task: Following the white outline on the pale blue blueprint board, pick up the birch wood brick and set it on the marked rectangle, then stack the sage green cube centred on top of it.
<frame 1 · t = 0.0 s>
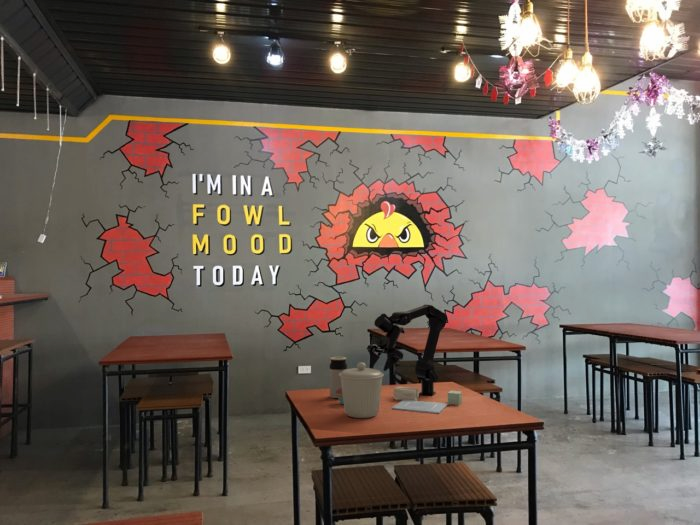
hand: (377, 369, 241), 15 cm above the table, tool tilted 35°, fingers open, 9 cm apart
canister: (361, 415, 222), on the table
birch brick: (406, 399, 250), on the table
cupcake: (345, 403, 242), on the table
travel mug: (338, 397, 254), on the table
sage cube: (454, 403, 241), on the table
blueprint board: (420, 407, 235), on the table
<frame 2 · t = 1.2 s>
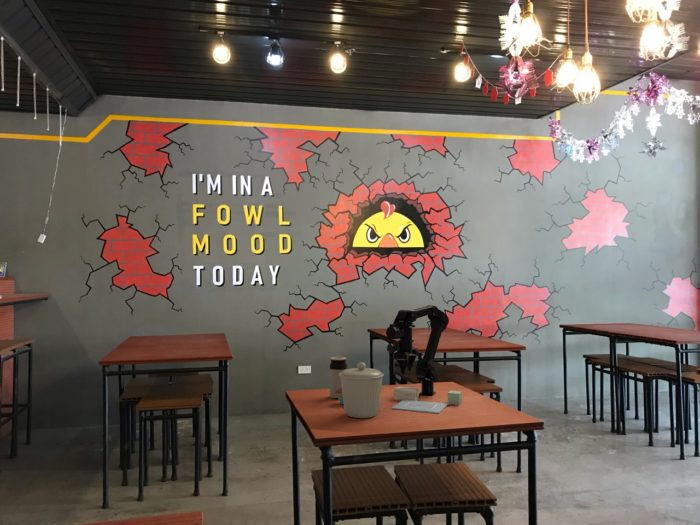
hand: (406, 372, 250), 12 cm above the table, tool pointing down, fingers open, 9 cm apart
nothing on the table moved.
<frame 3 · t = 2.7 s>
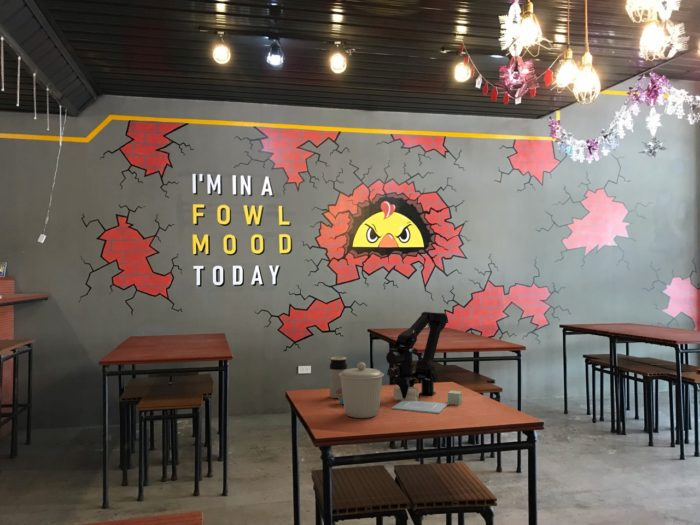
hand: (406, 396, 250), 1 cm above the table, tool pointing down, fingers closed on birch brick, 6 cm apart
birch brick: (406, 399, 250), on the table, touching gripper
everything else where it was.
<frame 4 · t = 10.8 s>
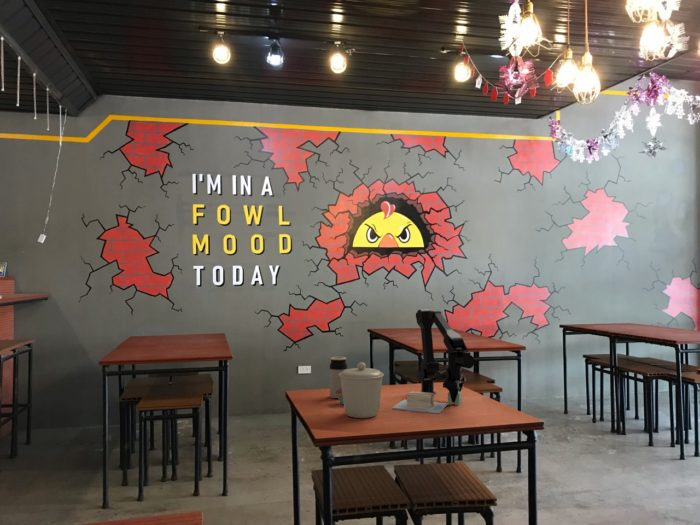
hand: (454, 401, 241), 1 cm above the table, tool pointing down, fingers closed on sage cube, 5 cm apart
birch brick: (420, 405, 235), point 1 cm above the table, touching blueprint board
sage cube: (454, 403, 241), on the table, touching gripper
everything else where it was.
when the fingers open (8 cm above the table, at t = 14.3 s): sage cube drops 1 cm, resting on birch brick.
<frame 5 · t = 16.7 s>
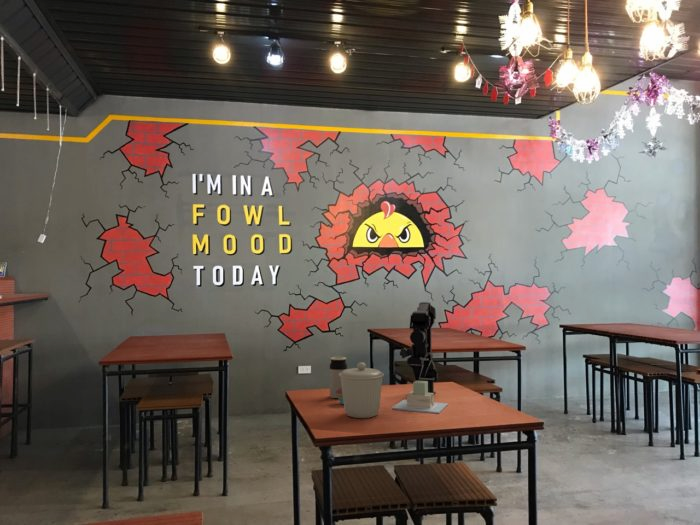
hand: (420, 378, 235), 12 cm above the table, tool pointing down, fingers open, 9 cm apart
birch brick: (420, 405, 235), point 1 cm above the table, touching blueprint board, sage cube
sage cube: (420, 393, 235), point 6 cm above the table, touching birch brick
everything else where it was.
at the end: birch brick 0.1 cm off-centre on the blueprint board, point 0.6 cm above the blueprint board's base; sage cube 0.1 cm off-centre on the birch brick, point 5.0 cm above the birch brick's base; sage cube tilted 0° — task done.
